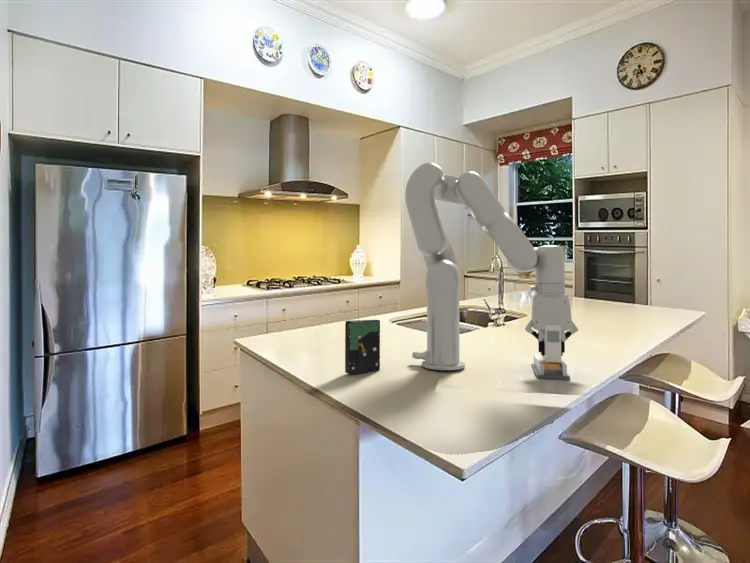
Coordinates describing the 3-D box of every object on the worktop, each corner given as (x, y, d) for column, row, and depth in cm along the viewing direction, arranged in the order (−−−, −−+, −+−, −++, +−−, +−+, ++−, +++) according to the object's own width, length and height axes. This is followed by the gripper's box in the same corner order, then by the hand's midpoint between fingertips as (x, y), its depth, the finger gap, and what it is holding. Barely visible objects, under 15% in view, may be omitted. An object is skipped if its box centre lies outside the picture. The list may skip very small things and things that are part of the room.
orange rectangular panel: (544, 368, 119) (544, 365, 119) (539, 361, 130) (539, 358, 130) (560, 369, 118) (560, 365, 118) (553, 362, 129) (553, 358, 129)
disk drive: (375, 369, 130) (375, 318, 130) (380, 370, 128) (380, 319, 128) (344, 373, 125) (344, 320, 125) (348, 374, 122) (348, 321, 122)
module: (545, 362, 121) (545, 325, 121) (542, 357, 128) (541, 322, 128) (561, 362, 120) (561, 325, 120) (557, 357, 127) (556, 323, 127)
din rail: (537, 378, 117) (537, 364, 117) (531, 367, 133) (531, 354, 133) (570, 380, 115) (570, 365, 115) (559, 368, 131) (559, 355, 131)
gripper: (520, 290, 122) (521, 356, 122) (585, 289, 118) (587, 358, 118) (518, 289, 129) (519, 352, 129) (579, 289, 125) (580, 353, 125)
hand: (551, 354), depth 124 cm, fingers closed on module, 4 cm apart
